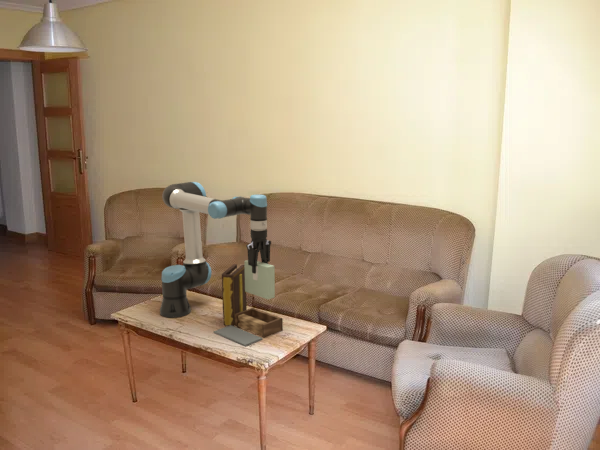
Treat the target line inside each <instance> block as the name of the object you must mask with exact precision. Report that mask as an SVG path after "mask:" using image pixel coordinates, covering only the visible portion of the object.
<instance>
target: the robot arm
mask: <svg viewBox="0 0 600 450" xmlns="http://www.w3.org/2000/svg"><path fill="white" fill-rule="evenodd" d="M161 197H162V201H163V203H164V205H166V206H167V207H169V208H170V209H177V210H179V212H181V213H182V224H183V225H182V227H183V237H184V239H183V240H184V253H185V254H184V255H185V259H184V260H183V261H182V264H175V265H169V266H166V267H165V268H163V270H162V271H161V287H162V288H161V290H162V301H161V305H160V307H159V313H160V314H159V315H160V316H161V317H165V318H170V319H171V318H172V319H173V318H182V317H184V316H185V317H186V316H187V315H190V313H191V305H190V303H189V299H188V297H187V290H190V289H194V288H197V287H201V286H203V285H205V284H208V282H210V280H211V278H212V267H211V266H210V263H208V262H207V259H206V258H205V257H204V256H203V243H202V242H203V241H202V230H201V229H202V228H201V227H202V226H201V217H200V213H201V214H206V215H209V216H210V218H212V219H213V220H215V219H216V220H217V219H218V220H219V219H223V218H229V217H234V216H238V215H248V216H250V217H249V219H250V221H249V222H250V238H251V241H250V243H249V244H246V250H247V260H248V265H250V266H252V273H253V279H254V280H258V266H257V261H258V259H259V255H260V260H261V261H260V262H263V263H266V264H269V263H270V261H271V244H272V241H271V240H268V239H267V237H268V229H267V228H268V198H267V195H265V194H251V195H250V197H244V196H233V197H232V198H230V199H224V200H223V199H222V200H221V199H216V198H213V197H207V192H206V190H205V187H204V186H203V185H202V184H201V183H199V182H198V181H186V182H181V183H180V182H179V183H172V184H170V185H168V186H166V187H165V188H164V189H163V192H162V195H161Z"/></svg>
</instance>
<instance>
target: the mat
mask: <svg viewBox="0 0 600 450" xmlns="http://www.w3.org/2000/svg"><path fill="white" fill-rule="evenodd" d="M213 333H214V334H216V335H218V336H220V337H223V338H225V339H227V340H229V341H232V342H234V343H236V344H238V345H240V346H243V347H248V346H250V345H252V344H255V343H257V342H260V341H262V340H263V337H262V336H260V335H257V334H255V333H252V332H250V331H247V330H245V329H242V328H240V327H238V326H237V327H236V326H232V325H229V326H225V327H222V328H219V329H216V330H213Z"/></svg>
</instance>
